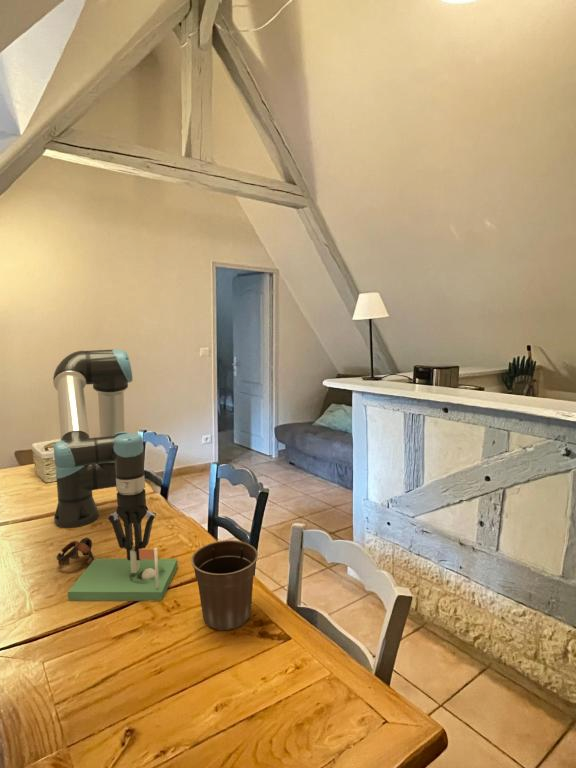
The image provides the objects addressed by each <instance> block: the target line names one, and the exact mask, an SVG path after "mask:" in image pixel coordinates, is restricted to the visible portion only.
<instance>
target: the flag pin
mask: <svg viewBox="0 0 576 768" xmlns="http://www.w3.org/2000/svg"><path fill="white" fill-rule="evenodd" d="M139 559H155V579H156V590H158V589H159V576H158V559H159V558H158V547H154V548H142V549H139Z"/></svg>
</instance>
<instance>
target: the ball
mask: <svg viewBox="0 0 576 768" xmlns="http://www.w3.org/2000/svg"><path fill="white" fill-rule="evenodd" d="M153 577H155V570H154V569H152V568H148V569H146V570H144V571H143V573H142V579H141V580H148V579H151V578H153Z"/></svg>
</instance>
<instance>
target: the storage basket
mask: <svg viewBox="0 0 576 768" xmlns="http://www.w3.org/2000/svg"><path fill="white" fill-rule="evenodd" d="M59 441H61V438H59V439H57V438H56V439H52V440H51V439H50V440H47V441H39V442H34V443H32V444H31V447H30V448H31V451H32V457H33V458H32V459H33V465H34V470H35V474H36V475H37V476H38V477H39V478H40V479H41V480H42V481H43V482H44V483H51V482H57V478H56V466H55V460H54V443H55V442H59ZM51 447H53V448H51ZM46 448H50V449H49V450H46Z"/></svg>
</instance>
